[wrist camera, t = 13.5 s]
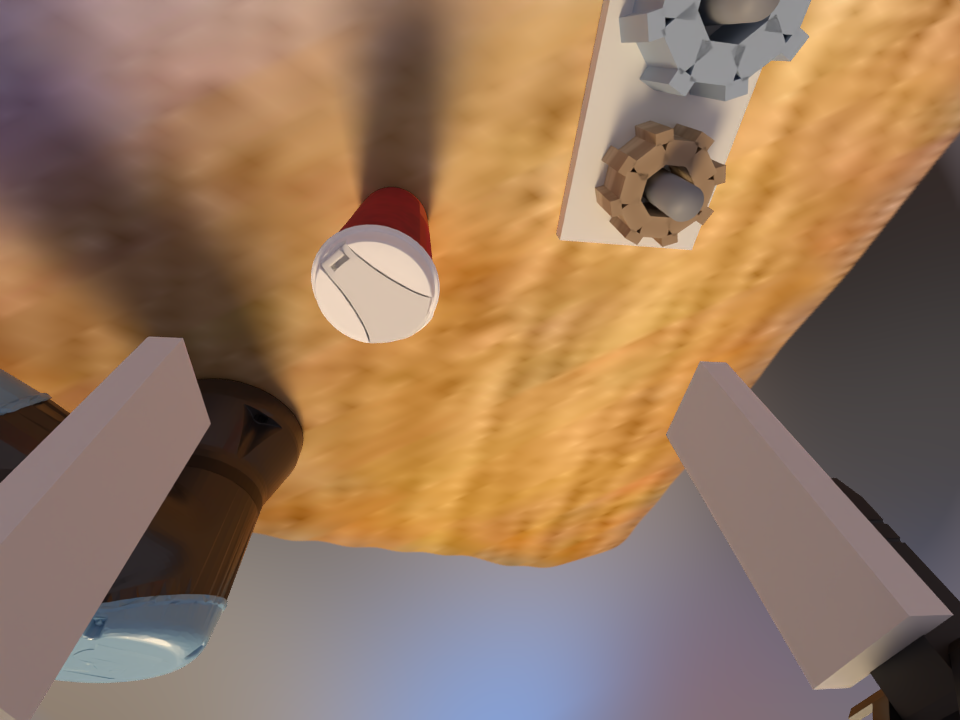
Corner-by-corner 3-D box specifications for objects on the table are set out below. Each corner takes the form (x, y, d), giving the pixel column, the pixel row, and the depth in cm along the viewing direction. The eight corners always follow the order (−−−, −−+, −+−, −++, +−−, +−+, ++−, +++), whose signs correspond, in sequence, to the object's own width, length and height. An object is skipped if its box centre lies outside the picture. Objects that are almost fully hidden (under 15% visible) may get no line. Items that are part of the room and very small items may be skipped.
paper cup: (327, 213, 37) (277, 288, 26) (396, 151, 35) (374, 203, 23) (393, 281, 41) (375, 372, 29) (459, 229, 38) (467, 306, 27)
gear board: (556, 233, 39) (580, 274, 32) (628, -124, 27) (693, -183, 20) (684, 243, 41) (734, 284, 34) (809, -92, 28) (928, -137, 21)
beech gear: (585, 225, 38) (599, 242, 34) (611, 116, 33) (630, 123, 30) (676, 232, 38) (698, 249, 35) (714, 127, 34) (743, 136, 31)
